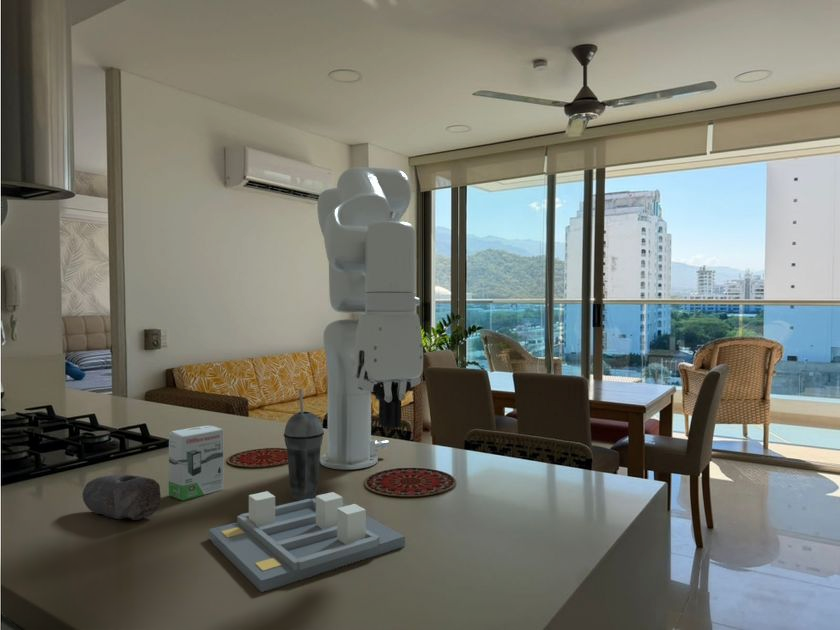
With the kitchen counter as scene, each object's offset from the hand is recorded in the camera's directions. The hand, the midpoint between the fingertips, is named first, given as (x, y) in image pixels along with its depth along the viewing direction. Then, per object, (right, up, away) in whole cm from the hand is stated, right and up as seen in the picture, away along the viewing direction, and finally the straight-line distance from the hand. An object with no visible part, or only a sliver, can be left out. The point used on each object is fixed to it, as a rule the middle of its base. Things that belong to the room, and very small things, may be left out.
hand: (390, 426), depth 88 cm
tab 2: (-9, -16, +1) cm, 18 cm away
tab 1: (-20, -15, +2) cm, 25 cm away
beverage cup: (-17, -17, +19) cm, 30 cm away
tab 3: (-5, -16, -4) cm, 17 cm away
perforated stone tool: (-46, -17, +9) cm, 50 cm away
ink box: (-37, -17, +21) cm, 46 cm away
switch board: (-13, -17, -1) cm, 21 cm away
